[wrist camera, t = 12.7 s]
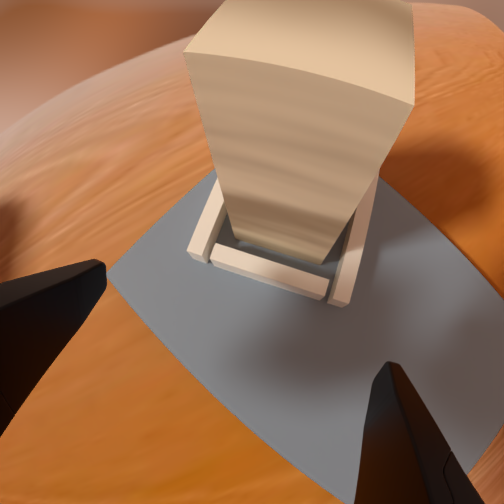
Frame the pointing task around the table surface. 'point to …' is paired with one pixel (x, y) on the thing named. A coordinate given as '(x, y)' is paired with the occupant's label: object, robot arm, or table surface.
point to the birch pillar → (301, 111)
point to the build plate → (327, 334)
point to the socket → (277, 272)
